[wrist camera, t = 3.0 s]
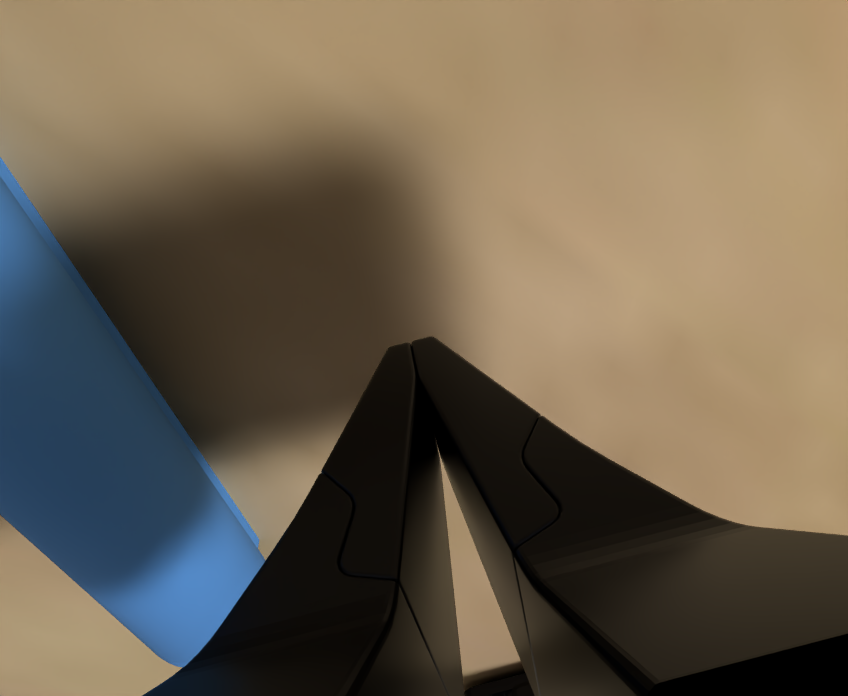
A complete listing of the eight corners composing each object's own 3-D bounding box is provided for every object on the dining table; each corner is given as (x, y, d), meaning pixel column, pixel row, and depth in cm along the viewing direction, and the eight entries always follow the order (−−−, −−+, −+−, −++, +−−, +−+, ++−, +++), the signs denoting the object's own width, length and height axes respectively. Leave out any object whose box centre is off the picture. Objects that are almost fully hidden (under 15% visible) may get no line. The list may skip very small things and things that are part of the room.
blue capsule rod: (293, 561, 14) (284, 673, 12) (193, 587, 14) (163, 705, 12) (-84, -30, 7) (-338, -62, 4) (-300, 27, 7) (-684, 30, 4)
